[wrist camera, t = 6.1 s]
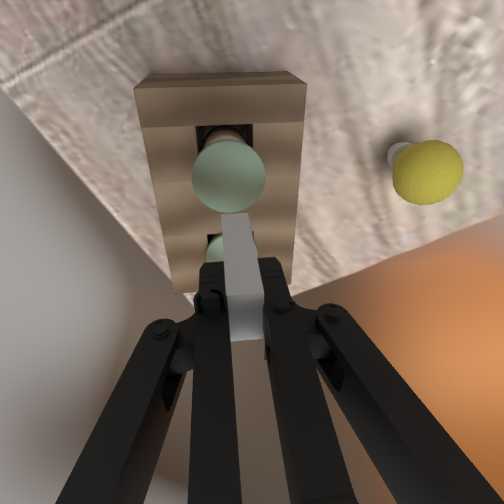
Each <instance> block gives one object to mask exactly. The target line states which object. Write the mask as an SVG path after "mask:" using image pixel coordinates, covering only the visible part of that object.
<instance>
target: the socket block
mask: <svg viewBox="0 0 504 504" xmlns="http://www.w3.org/2000/svg"><path fill="white" fill-rule="evenodd" d="M306 89H307V83H305V82H303V81H302V80H300V79H299V78H297V77H296V76H294V75H293V74H291V73H289V72H288V71H287V72H246V73H206V74H165V75H148V76H147V77H146V78H145V79H144V80H142V81H141V82H140V83H139V84H138V85H137V86H136V87H135V88H133V90H134V95H135V100H136V105H137V110H138V114H139V119H140V124H141V129H142V134H143V139H144V144H145V149H146V154H147V159H148V164H149V169H150V174H151V179H152V183H153V188H154V193H155V198H156V203H157V208H158V213H159V218H160V223H161V228H162V233H163V238H164V243H165V248H166V253H167V257H168V262H169V267H170V272H171V277H172V282H173V287H174V292H175V294H176V293H189V292H198V291H199V269H200V268H201V266H202V265H203V263H206V249H207V246H208V244H209V243H210V241H211V240H212V239H213V234H220V233H222V221H221V214H236V213H248V215H249V220H250V225H251V230H252V235H253V240H254V243H255V245H256V248H257V253H258V258H264V257H276V258H277V259H278V260H279V261H280V262H281V265H282V269H283V272H284V276H285V279H286V282H287V285H289V284H291V275H292V262H293V250H294V238H295V225H296V213H297V201H298V188H299V176H300V163H301V151H302V139H303V126H304V114H305V102H306ZM233 124H245V136H246V144H247V145H249V146H250V147H252V148H253V149H254V150H255V151H256V152H257V153H258V155H259V156H260V158H261V160H262V163H263V165H264V168H265V173H266V182H265V187H264V189H263V192H262V194H261V196H260V197H259V198H258V200H257V201H256V202H255V203H254V204H252V205H251V206H250V207H248V208H246V209H244V210H241V211H238V212H232V213H225V212H219V211H216V210H213V209H211V208H209V207H208V206H206V205H205V204H204V203H203V202H201V200H200V199H199V198H198V197H197V195H196V193H195V191H194V189H193V185H192V168H193V164H194V161H195V159H196V157H197V155H198V154H199V153H200V152H201V151H202V144H201V134H200V126H207V125H233Z"/></svg>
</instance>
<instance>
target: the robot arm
mask: <svg viewBox="0 0 504 504" xmlns="http://www.w3.org/2000/svg"><path fill="white" fill-rule="evenodd" d="M221 221H222V238H223V254H224V261H219V262H206V263H203V265H202V266H201V268H200V269H199V291H198V292H197V293H196V294H195V296H194V299H193V301H194V307H195V313H194V314H193V315H192V316H191V317H190V318H188V319H186V320H184V321H181V322H178V323H175V322H174V321H173V320H170V319H159V320H156V321H153V322H152V323H150V324H149V325H148V326H147V327H146V329H145V330H144V332H143V334H142V336H141V338H140V340H139V342H138V343H137V345H136V347H135V349H134V351H133V353H132V355H131V357H130V359H129V361H128V363H127V365H126V367H125V369H124V371H123V373H122V375H121V377H120V378H119V381H118V382H117V384H116V386H115V388H114V390H113V392H112V394H111V396H110V398H109V400H108V402H107V404H106V406H105V408H104V410H103V412H102V414H101V416H100V418H99V419H98V421H97V423H96V425H95V427H94V429H93V431H92V433H91V435H90V437H89V439H88V441H87V443H86V445H85V447H84V449H83V450H82V452H81V455H80V456H79V458H78V460H77V462H76V464H75V466H74V468H73V470H72V472H71V474H70V476H69V478H68V480H67V482H66V484H65V486H64V488H63V489H62V491H61V493H60V495H59V497H58V499H57V501H56V503H55V504H143V503H144V500H145V497H146V494H147V491H148V488H149V485H150V482H151V479H152V476H153V473H154V470H155V467H156V464H157V461H158V458H159V455H160V452H161V449H162V446H163V443H164V440H165V437H166V434H167V431H168V428H169V425H170V422H171V419H172V416H173V413H174V410H175V407H176V404H177V401H178V398H179V395H180V391H181V389H182V386H183V383H184V379H185V377H186V373H187V371H189V370H192V369H193V392H192V414H191V438H190V462H189V463H190V464H189V485H188V504H242V496H241V481H240V467H239V453H238V438H237V425H236V410H235V397H234V382H233V368H232V354H231V341H240V340H251V339H262V338H264V339H265V360H267V365H268V371H269V377H270V383H271V390H272V396H273V402H274V408H275V414H276V420H277V425H278V431H279V438H280V443H281V449H282V456H283V462H284V468H285V473H286V480H287V486H288V492H289V498H290V504H359V503H358V502H357V500H356V497H355V495H354V491H353V488H352V485H351V482H350V478H349V475H348V472H347V468H346V465H345V462H344V459H343V455H342V452H341V449H340V446H339V442H338V439H337V436H336V432H335V429H334V426H333V423H332V419H331V416H330V413H329V409H328V406H327V403H326V399H325V396H324V393H323V390H322V386H321V383H320V380H319V376H318V373H317V370H318V371H319V373H320V375H321V376H322V378H323V380H324V382H325V383H326V385H327V387H328V388H329V390H330V391H331V393H332V395H333V396H334V398H335V400H336V402H337V403H338V405H339V407H340V408H341V410H342V412H343V413H344V415H345V417H346V418H347V420H348V422H349V423H350V425H351V426H352V428H353V430H354V432H355V433H356V435H357V437H358V438H359V440H360V442H361V443H362V445H363V447H364V448H365V450H366V452H367V454H368V455H369V457H370V458H371V460H372V462H373V463H374V465H375V467H376V469H377V470H378V472H379V473H380V475H381V477H382V478H383V480H384V482H385V484H386V485H387V487H388V489H389V490H390V492H391V494H392V495H393V497H394V499H395V500H396V502H397V504H504V501H503V500H502V499H501V497H500V496H499V495H498V494H497V493H496V491H495V490H494V489H493V488H492V487H491V486H490V484H489V483H488V482H487V481H486V479H485V478H484V477H483V476H482V474H481V473H480V472H479V471H478V469H477V468H476V467H475V466H474V465H473V463H472V462H471V461H470V460H469V459H468V457H467V456H466V455H465V454H464V452H463V451H462V450H461V449H460V448H459V446H458V445H457V444H456V443H455V442H454V440H453V439H452V438H451V437H450V435H449V434H448V433H447V432H446V431H445V429H444V428H443V427H442V426H441V424H440V423H439V422H438V421H437V420H436V418H435V417H434V416H433V415H432V414H431V412H430V411H429V410H428V409H427V407H426V406H425V405H424V404H423V403H422V401H421V400H420V399H419V398H418V397H417V395H416V394H415V393H414V392H413V390H412V389H411V388H410V387H409V386H408V384H407V383H406V382H405V381H404V379H403V378H402V377H401V376H400V375H399V373H398V372H397V371H396V370H395V369H394V367H393V366H392V365H391V364H390V363H389V361H388V360H387V359H386V358H385V356H384V355H383V354H382V353H381V352H380V350H379V349H378V348H377V347H376V345H375V344H374V343H373V342H372V341H371V339H370V338H369V337H368V336H367V334H366V333H365V332H364V331H363V330H362V328H361V327H360V326H359V325H358V324H357V322H356V321H355V320H354V319H353V317H352V316H351V315H350V314H349V313H348V311H347V310H346V309H344V308H343V307H342V306H339V305H337V304H332V303H329V304H324V305H322V306H320V307H319V308H318V309H317V310H311V309H306V308H303V307H300V306H298V305H297V304H296V303H295V301H293V300H292V298H291V296H290V292H289V289H288V286H287V282H286V279H285V276H284V272H283V269H282V265H281V262H280V261H279V260H278V259H277V258H276V257H264V258H257V255H256V250H255V245H254V240H253V235H252V230H251V225H250V220H249V215H248V213H236V214H221ZM315 366H316V367H315ZM316 368H317V370H316Z"/></svg>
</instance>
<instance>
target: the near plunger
mask: <svg viewBox="0 0 504 504" xmlns="http://www.w3.org/2000/svg"><path fill="white" fill-rule="evenodd" d="M265 182H266V173H265V168H264V165H263V163H262V160H261V158H260V156H259V155H258V153H257V152H256V151H255V150H254V149H253V148H252V147H250V146H249V145H247V144H246V142H245V139H244V137H243V135H242V133H241V132H240V131H239V130H238V129H236V128H235V127H233V126H230V125H219V126H216V127H214V128H213V129H211V130H210V131H209V132H208V134H207V136H206V138H205V141H204V149H203V150H202V151H201V152H200V153H199V154H198V155H197V157H196V159H195V161H194V164H193V168H192V185H193V189H194V191H195V193H196V195H197V197H198V198H199V199H200V200H201V202H203V203H204V204H205V205H206V206H208V207H209V208H211V209H213V210H216V211H219V212H225V213H232V212H238V211H241V210H244V209H246V208H248V207H250V206H251V205H252V204H254V203H255V202H256V201H257V200H258V198H259V197H260V196H261V194H262V192H263V189H264V187H265Z"/></svg>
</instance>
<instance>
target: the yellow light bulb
mask: <svg viewBox="0 0 504 504" xmlns="http://www.w3.org/2000/svg"><path fill="white" fill-rule="evenodd" d="M387 158H388V163H389V165H390V166H391V167H392V168H393V186H394V188H395V190H396V192H397V194H398V195H399V196H401V197H402V198H403V199H404V200H406V201H408V202H410V203H414V204H417V205H429V204H434V203H437V202H440V201H442V200H444V199H445V198H447V197H449V196H450V195H451V194H452V193H453V192H454V191H455V190H456V188H457V187H458V186H459V184H460V181H461V179H462V176H463V162H462V159H461V156H460V154H459V153H458V152H457V151H456V150H455V149H454V148H453V146H451V145H450V144H447V143H445V142H442V141H439V140H428V141H424V142H421V143H417V144H414V145H412V144H410V143H408V142H402V143H395V144H393V145H392V146H391V147H390V148H389V149H388V151H387Z"/></svg>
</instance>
